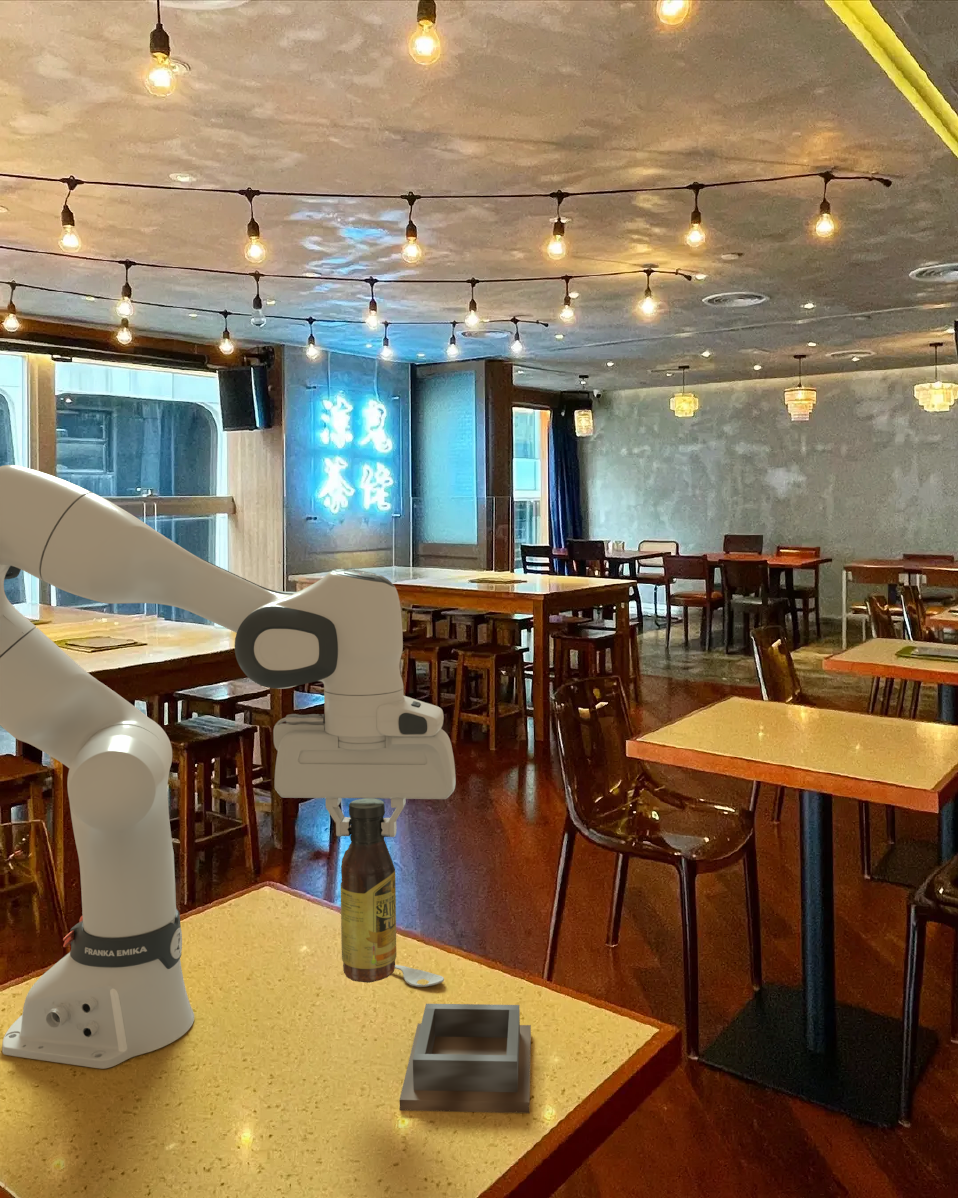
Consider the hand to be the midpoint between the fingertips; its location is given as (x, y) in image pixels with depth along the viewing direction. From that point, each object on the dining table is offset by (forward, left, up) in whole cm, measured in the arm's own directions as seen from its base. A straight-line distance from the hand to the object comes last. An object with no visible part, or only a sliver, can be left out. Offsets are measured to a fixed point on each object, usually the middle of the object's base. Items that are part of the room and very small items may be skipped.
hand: (366, 835), depth 110 cm
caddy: (+11, +1, -28) cm, 30 cm away
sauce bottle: (0, +1, -16) cm, 16 cm away
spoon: (-3, +26, -29) cm, 39 cm away
